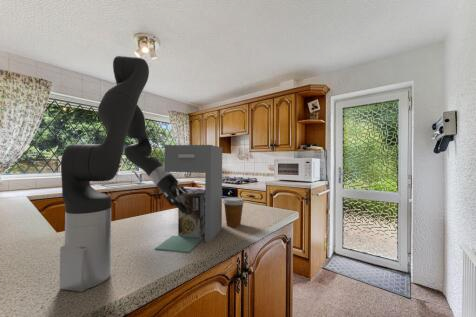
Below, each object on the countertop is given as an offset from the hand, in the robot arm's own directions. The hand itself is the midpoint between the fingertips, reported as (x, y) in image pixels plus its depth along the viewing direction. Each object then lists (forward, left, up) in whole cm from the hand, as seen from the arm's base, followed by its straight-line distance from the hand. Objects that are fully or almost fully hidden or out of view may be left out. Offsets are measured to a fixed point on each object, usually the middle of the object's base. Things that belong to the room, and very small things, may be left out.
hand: (189, 209), depth 84 cm
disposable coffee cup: (+15, -15, -10) cm, 23 cm away
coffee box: (0, -1, -10) cm, 10 cm away
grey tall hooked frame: (+1, -2, -10) cm, 10 cm away
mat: (-10, -1, -10) cm, 14 cm away
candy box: (+15, +4, -10) cm, 19 cm away
